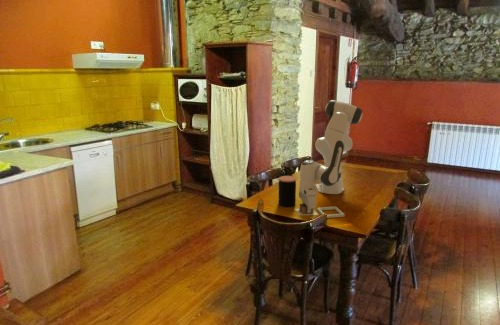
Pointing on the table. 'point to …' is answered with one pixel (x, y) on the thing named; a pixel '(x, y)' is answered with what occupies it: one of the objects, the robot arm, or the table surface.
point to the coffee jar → (287, 191)
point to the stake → (306, 214)
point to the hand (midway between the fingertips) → (306, 209)
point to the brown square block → (305, 209)
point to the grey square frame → (331, 214)
